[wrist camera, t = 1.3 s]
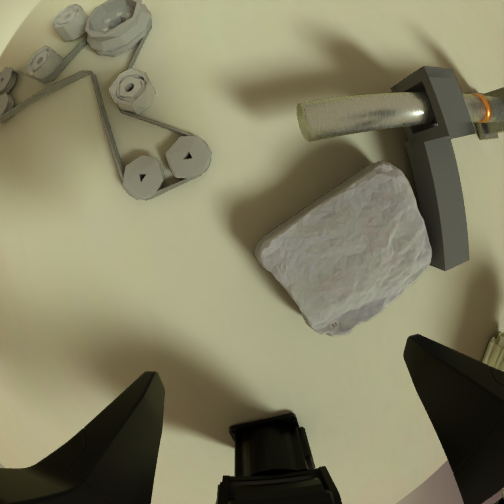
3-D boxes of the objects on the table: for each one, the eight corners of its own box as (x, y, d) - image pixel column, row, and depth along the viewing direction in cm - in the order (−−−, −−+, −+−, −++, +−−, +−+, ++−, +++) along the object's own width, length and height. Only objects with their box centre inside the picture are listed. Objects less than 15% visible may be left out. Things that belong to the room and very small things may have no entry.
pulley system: (60, 8, 15) (-11, 117, 16) (44, -11, 10) (-37, 109, 12) (275, 66, 19) (182, 221, 20) (286, 36, 15) (170, 224, 16)
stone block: (412, 247, 22) (369, 149, 19) (445, 268, 18) (407, 152, 14) (308, 324, 24) (242, 237, 20) (326, 359, 19) (250, 263, 16)
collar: (427, 264, 20) (469, 280, 14) (387, 90, 17) (423, 66, 12) (451, 254, 20) (493, 267, 14) (414, 90, 17) (452, 69, 12)
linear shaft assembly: (301, 170, 19) (332, 154, 12) (281, 106, 18) (301, 63, 11) (493, 138, 19) (539, 132, 12) (480, 95, 18) (522, 81, 11)
